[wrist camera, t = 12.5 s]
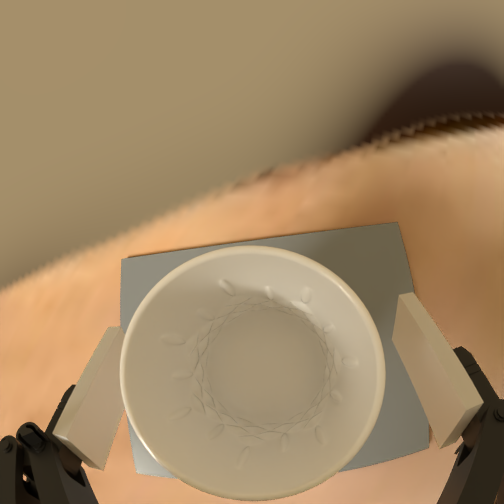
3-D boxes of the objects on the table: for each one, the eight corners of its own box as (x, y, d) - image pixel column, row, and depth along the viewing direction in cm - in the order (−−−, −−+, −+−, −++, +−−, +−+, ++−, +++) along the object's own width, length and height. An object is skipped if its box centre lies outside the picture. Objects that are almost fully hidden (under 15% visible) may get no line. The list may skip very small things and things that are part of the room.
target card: (138, 471, 16) (135, 473, 15) (124, 260, 21) (120, 258, 20) (426, 446, 14) (429, 448, 13) (395, 224, 19) (397, 221, 19)
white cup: (231, 284, 19) (174, 215, 9) (351, 324, 17) (416, 289, 8) (187, 398, 17) (92, 431, 7) (306, 442, 15) (322, 527, 6)
